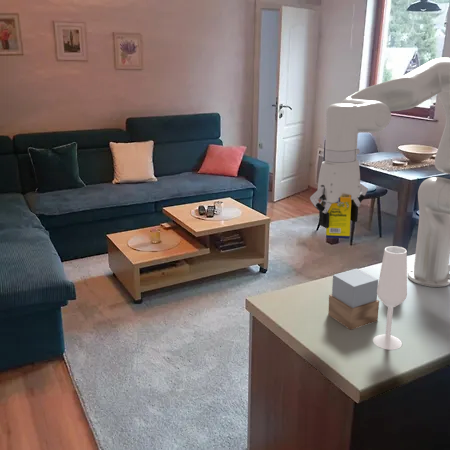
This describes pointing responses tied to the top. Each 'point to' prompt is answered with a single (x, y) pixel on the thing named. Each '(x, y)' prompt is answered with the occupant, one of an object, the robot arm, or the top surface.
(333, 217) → the supplement box
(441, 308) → the top surface
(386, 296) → the champagne flute
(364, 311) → the tower base block
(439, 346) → the top surface
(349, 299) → the tower top block
